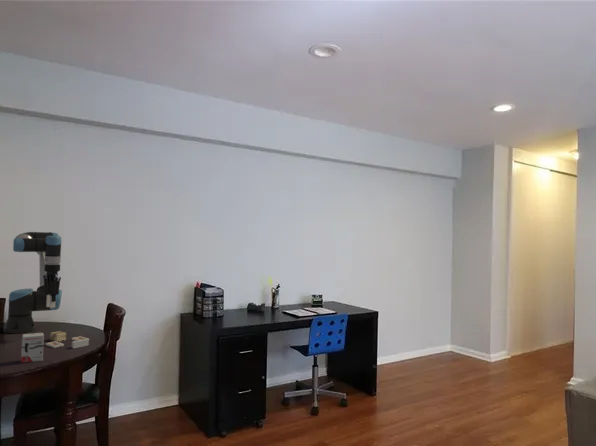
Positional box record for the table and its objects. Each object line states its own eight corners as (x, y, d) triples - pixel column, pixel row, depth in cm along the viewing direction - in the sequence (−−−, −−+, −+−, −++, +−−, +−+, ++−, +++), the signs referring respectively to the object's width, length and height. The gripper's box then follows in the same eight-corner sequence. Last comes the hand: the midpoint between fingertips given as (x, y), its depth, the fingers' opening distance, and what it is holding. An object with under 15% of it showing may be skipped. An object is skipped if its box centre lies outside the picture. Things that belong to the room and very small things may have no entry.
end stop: (71, 347, 228) (71, 341, 228) (86, 344, 235) (86, 338, 235) (73, 348, 227) (74, 342, 227) (88, 345, 234) (88, 339, 234)
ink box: (21, 363, 202) (22, 336, 202) (20, 360, 206) (22, 334, 206) (43, 360, 206) (44, 334, 206) (42, 357, 210) (43, 332, 210)
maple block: (50, 340, 241) (50, 332, 241) (59, 338, 245) (59, 331, 245) (56, 342, 238) (57, 334, 238) (65, 340, 242) (66, 332, 242)
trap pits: (45, 345, 231) (45, 343, 231) (80, 338, 247) (80, 336, 247) (54, 347, 227) (54, 345, 227) (89, 340, 243) (89, 338, 243)
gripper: (37, 263, 247) (36, 306, 247) (53, 265, 239) (51, 309, 239) (51, 262, 254) (49, 304, 254) (67, 264, 245) (65, 308, 245)
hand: (50, 307), depth 246 cm, fingers open, 3 cm apart
